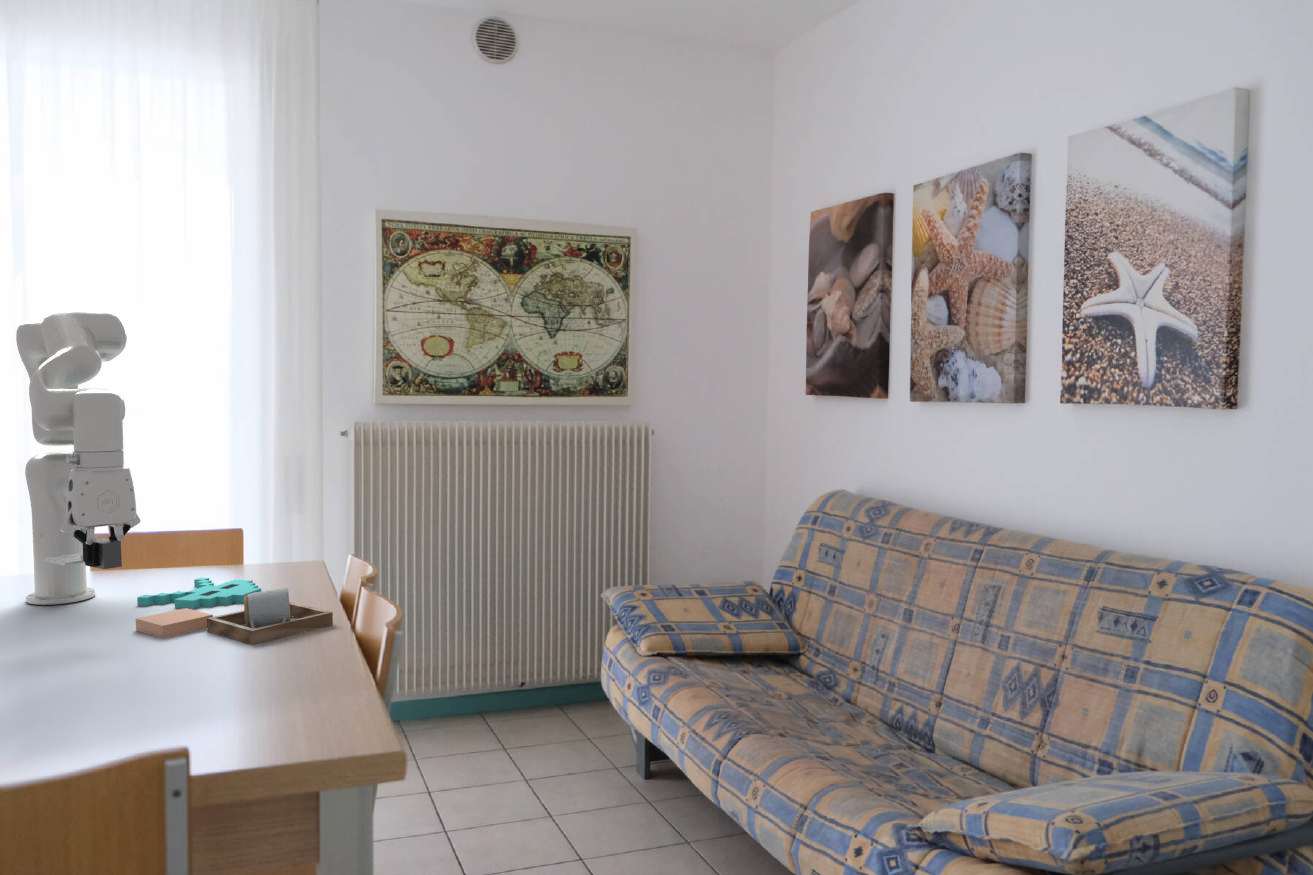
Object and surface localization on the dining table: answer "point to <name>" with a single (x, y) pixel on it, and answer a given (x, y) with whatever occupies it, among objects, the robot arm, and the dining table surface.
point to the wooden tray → (233, 624)
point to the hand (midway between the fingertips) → (102, 563)
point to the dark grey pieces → (105, 555)
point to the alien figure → (204, 594)
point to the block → (172, 622)
